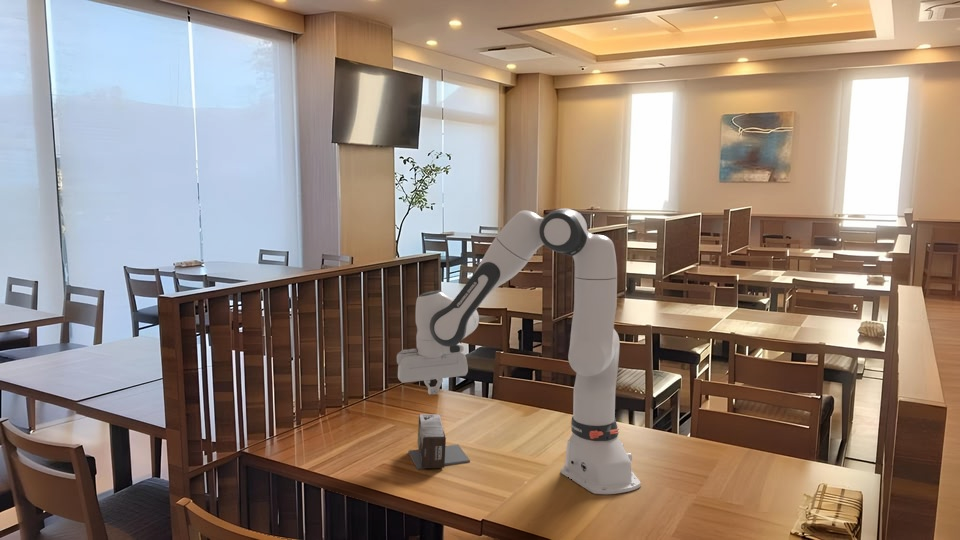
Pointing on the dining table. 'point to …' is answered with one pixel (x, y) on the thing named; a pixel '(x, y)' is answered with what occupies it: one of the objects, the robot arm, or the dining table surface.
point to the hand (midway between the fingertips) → (433, 393)
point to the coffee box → (431, 441)
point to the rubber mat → (451, 456)
